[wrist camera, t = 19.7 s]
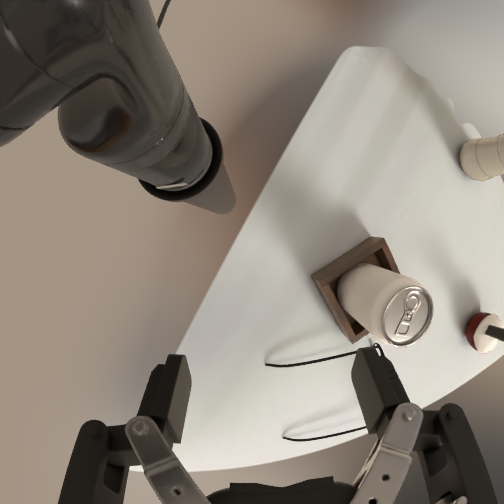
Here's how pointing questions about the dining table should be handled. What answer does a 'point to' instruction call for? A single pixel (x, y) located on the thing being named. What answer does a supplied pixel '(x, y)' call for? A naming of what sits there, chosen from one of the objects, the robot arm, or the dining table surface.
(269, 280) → the dining table surface
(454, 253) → the dining table surface
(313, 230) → the dining table surface
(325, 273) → the tray
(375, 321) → the can
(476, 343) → the cocoa
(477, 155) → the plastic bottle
